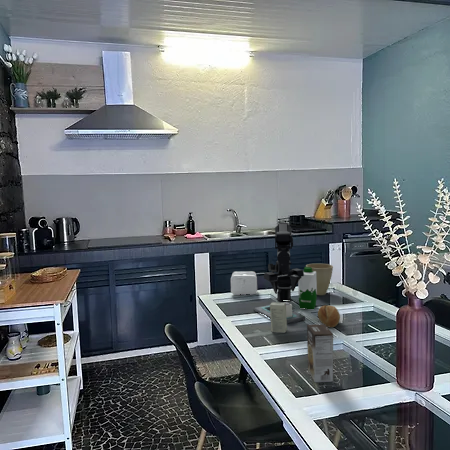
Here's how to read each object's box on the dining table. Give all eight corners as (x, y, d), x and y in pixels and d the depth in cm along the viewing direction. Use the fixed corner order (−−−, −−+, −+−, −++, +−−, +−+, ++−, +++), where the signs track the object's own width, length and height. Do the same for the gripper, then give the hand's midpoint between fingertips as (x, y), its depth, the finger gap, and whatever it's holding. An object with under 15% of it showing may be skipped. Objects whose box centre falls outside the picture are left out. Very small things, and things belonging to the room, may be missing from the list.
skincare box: (287, 329, 181) (286, 302, 180) (285, 333, 177) (284, 305, 176) (272, 328, 184) (272, 301, 182) (270, 332, 179) (269, 304, 178)
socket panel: (278, 306, 215) (277, 303, 215) (305, 319, 193) (305, 316, 193) (254, 310, 209) (253, 307, 209) (279, 325, 187) (279, 321, 187)
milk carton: (317, 305, 214) (317, 267, 212) (314, 310, 206) (314, 271, 204) (300, 304, 217) (300, 266, 215) (297, 309, 209) (296, 270, 207)
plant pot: (330, 298, 227) (330, 269, 225) (303, 295, 233) (302, 267, 231) (335, 291, 240) (335, 263, 238) (309, 289, 246) (309, 262, 245)
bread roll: (319, 329, 180) (319, 311, 180) (316, 318, 195) (315, 301, 194) (342, 329, 179) (342, 311, 179) (337, 318, 194) (337, 301, 193)
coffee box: (307, 370, 143) (306, 324, 141) (325, 369, 143) (325, 323, 141) (314, 382, 134) (313, 334, 132) (333, 381, 134) (333, 333, 132)
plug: (286, 316, 199) (286, 301, 198) (292, 319, 195) (291, 303, 194) (278, 318, 197) (278, 302, 196) (284, 320, 193) (283, 305, 192)
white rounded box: (257, 290, 247) (257, 271, 246) (257, 295, 237) (256, 275, 235) (232, 290, 249) (232, 271, 248) (230, 295, 239) (230, 275, 237)
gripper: (291, 255, 205) (291, 286, 206) (257, 259, 197) (258, 291, 199) (304, 258, 195) (304, 291, 196) (269, 263, 187) (270, 297, 189)
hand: (284, 292), depth 195 cm, fingers open, 9 cm apart
